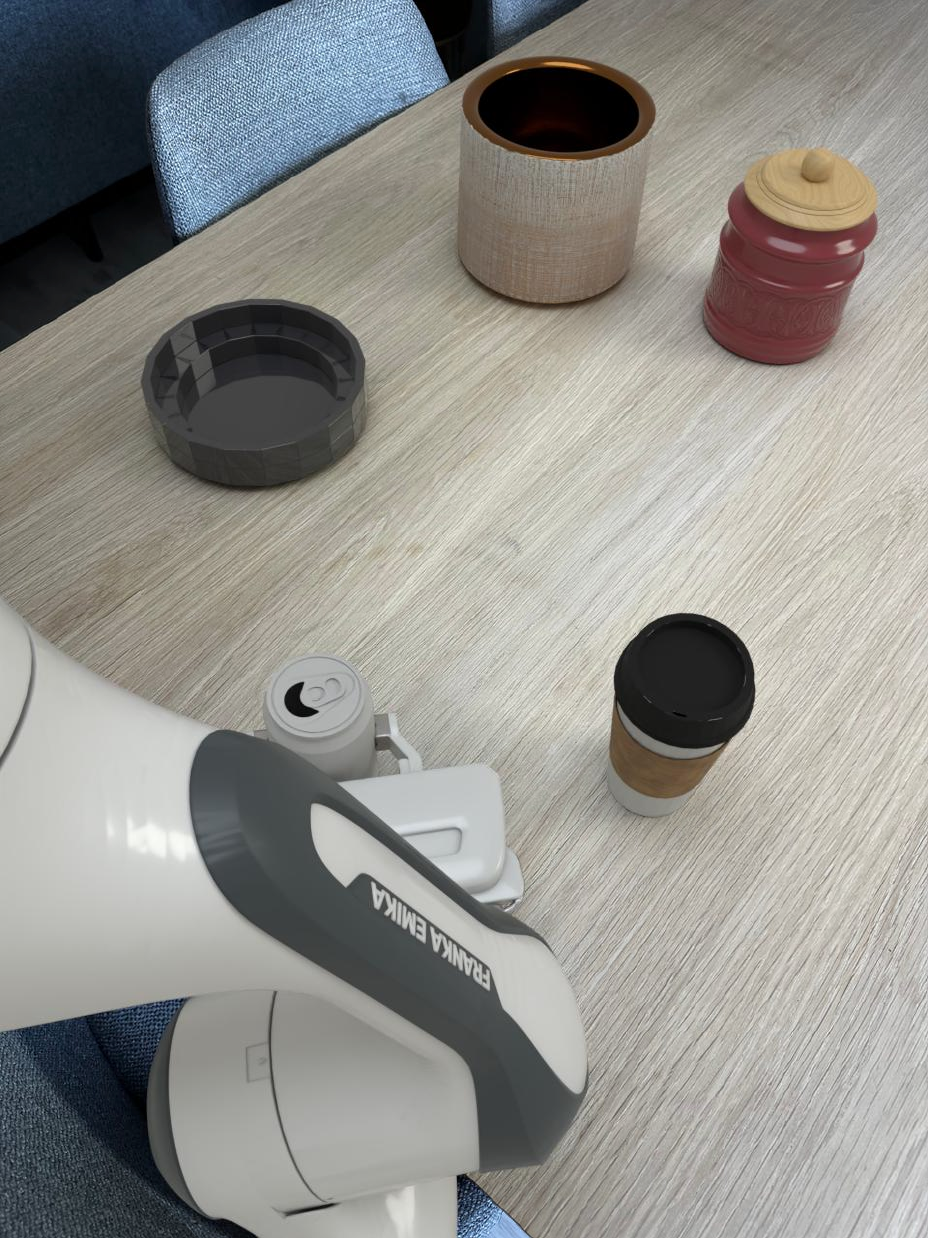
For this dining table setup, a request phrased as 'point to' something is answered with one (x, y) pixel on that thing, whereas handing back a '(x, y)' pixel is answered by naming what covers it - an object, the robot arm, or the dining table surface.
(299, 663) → the beverage can
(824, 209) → the kitchen canister
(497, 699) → the dining table surface
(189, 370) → the grey shallow round dish
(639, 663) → the coffee cup
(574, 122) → the planter
